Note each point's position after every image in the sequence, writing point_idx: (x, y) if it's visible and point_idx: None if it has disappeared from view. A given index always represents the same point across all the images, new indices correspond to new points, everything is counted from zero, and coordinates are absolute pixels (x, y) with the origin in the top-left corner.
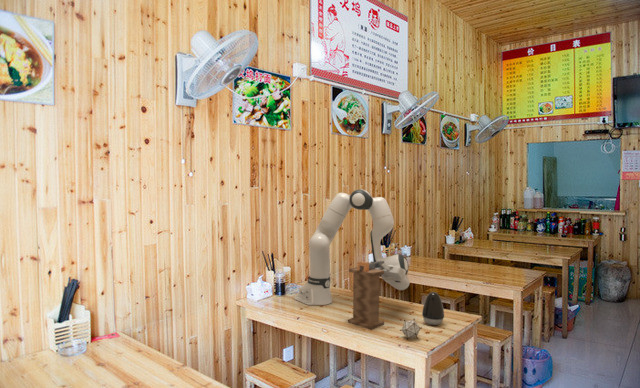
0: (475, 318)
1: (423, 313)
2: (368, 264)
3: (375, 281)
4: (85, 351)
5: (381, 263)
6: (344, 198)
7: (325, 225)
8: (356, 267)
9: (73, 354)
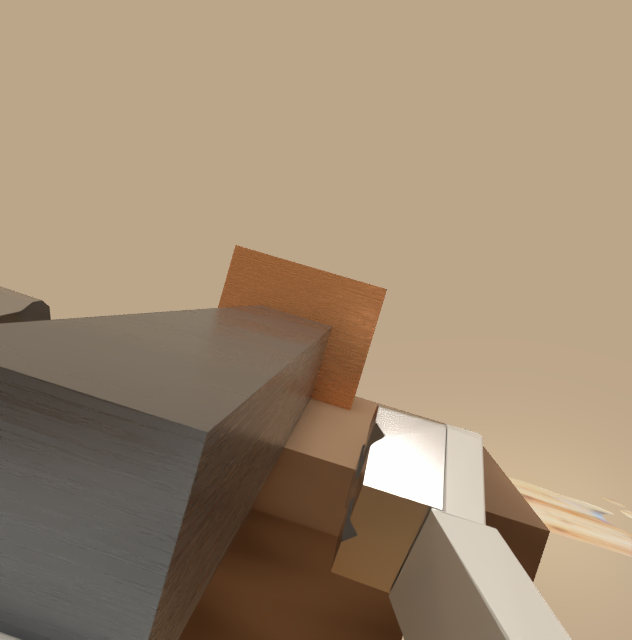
0: None
1: None
2: (231, 270)
3: None
4: (605, 522)
5: (43, 303)
6: None
7: None
8: (485, 468)
9: (598, 514)
